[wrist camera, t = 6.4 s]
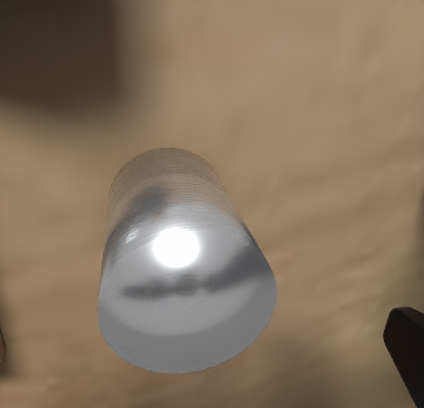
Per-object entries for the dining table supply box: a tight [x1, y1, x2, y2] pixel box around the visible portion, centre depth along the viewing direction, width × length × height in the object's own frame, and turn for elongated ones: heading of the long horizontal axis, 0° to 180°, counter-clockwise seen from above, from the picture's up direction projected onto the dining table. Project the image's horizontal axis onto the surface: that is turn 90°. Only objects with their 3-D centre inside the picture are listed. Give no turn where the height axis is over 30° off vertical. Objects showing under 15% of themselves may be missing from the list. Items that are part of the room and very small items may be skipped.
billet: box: [98, 148, 277, 373], centre depth 12 cm, size 4×4×6 cm
